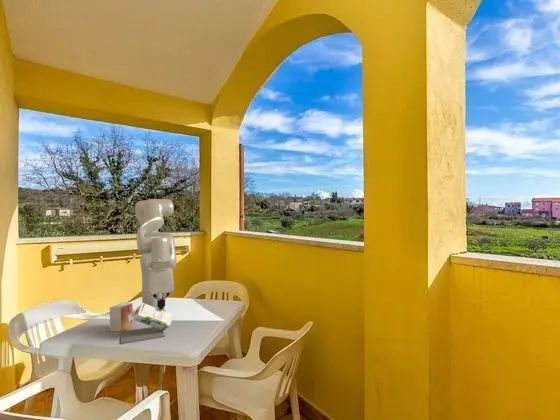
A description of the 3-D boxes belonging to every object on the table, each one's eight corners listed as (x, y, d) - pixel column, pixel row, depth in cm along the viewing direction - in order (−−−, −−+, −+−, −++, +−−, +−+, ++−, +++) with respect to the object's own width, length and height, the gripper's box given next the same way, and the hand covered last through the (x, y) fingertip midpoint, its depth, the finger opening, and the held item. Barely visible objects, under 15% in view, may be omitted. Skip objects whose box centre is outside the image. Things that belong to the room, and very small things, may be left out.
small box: (120, 332, 138) (120, 307, 138) (109, 331, 139) (109, 307, 139) (132, 326, 146) (132, 302, 146) (122, 325, 147) (122, 302, 147)
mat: (121, 332, 137) (121, 331, 137) (161, 326, 144) (161, 325, 144) (121, 344, 124) (121, 342, 124) (164, 336, 131) (164, 335, 131)
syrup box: (163, 331, 138) (131, 320, 131) (167, 318, 142) (136, 307, 136) (170, 327, 135) (137, 315, 128) (173, 314, 139) (142, 301, 133)
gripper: (142, 268, 131) (142, 313, 130) (180, 265, 138) (180, 308, 137) (141, 266, 138) (141, 309, 137) (177, 263, 144) (178, 304, 143)
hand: (161, 308), depth 137 cm, fingers closed
